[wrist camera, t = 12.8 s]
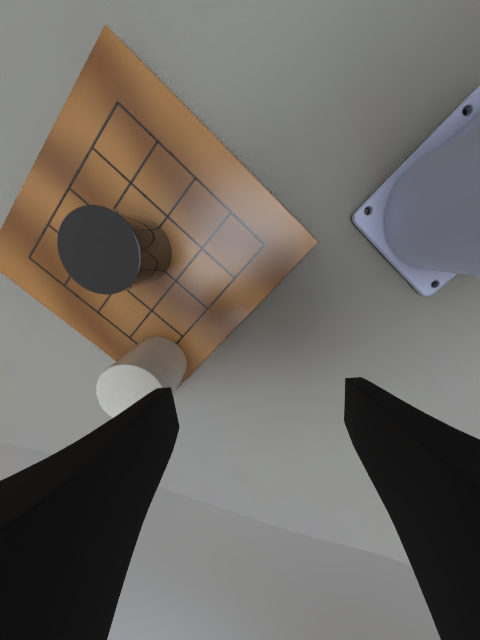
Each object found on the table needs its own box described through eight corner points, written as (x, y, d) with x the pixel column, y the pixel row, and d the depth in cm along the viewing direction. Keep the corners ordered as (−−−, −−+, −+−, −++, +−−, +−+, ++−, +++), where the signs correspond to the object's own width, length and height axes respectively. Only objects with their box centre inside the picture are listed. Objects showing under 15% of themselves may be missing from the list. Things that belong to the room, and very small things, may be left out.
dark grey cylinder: (133, 201, 15) (83, 183, 11) (184, 248, 16) (158, 248, 12) (98, 253, 17) (41, 255, 12) (148, 295, 17) (111, 311, 13)
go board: (117, 41, 14) (104, 23, 13) (314, 242, 17) (319, 241, 15) (1, 259, 18) (-16, 260, 17) (171, 391, 21) (166, 400, 20)
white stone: (154, 325, 18) (120, 350, 14) (198, 361, 19) (180, 396, 14) (122, 362, 19) (82, 397, 15) (165, 395, 20) (139, 438, 15)
